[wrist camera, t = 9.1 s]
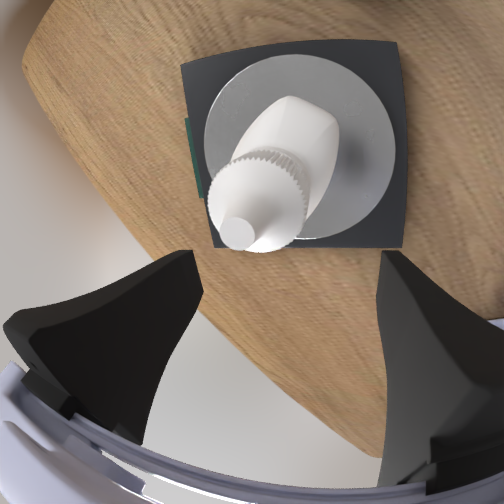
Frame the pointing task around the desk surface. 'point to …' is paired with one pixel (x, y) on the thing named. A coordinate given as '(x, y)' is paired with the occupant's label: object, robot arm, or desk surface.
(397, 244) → the scale
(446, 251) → the desk surface
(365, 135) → the scale pan
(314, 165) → the eye dropper bottle
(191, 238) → the desk surface
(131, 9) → the desk surface
